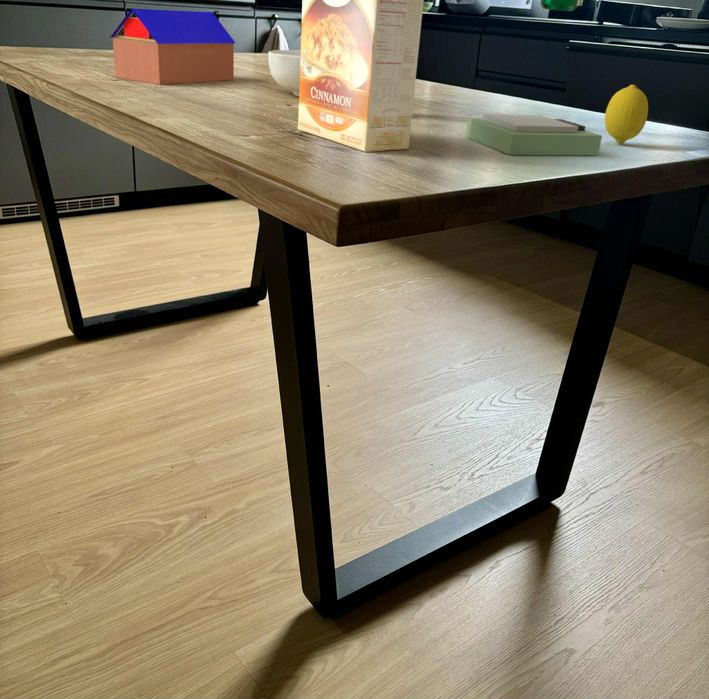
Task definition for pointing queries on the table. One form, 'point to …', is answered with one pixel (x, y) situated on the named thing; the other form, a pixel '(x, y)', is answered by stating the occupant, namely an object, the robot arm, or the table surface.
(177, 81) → the house
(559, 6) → the soda can
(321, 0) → the coffeecake box
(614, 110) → the lemon
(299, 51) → the cereal bowl
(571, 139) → the scale
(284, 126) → the table surface
